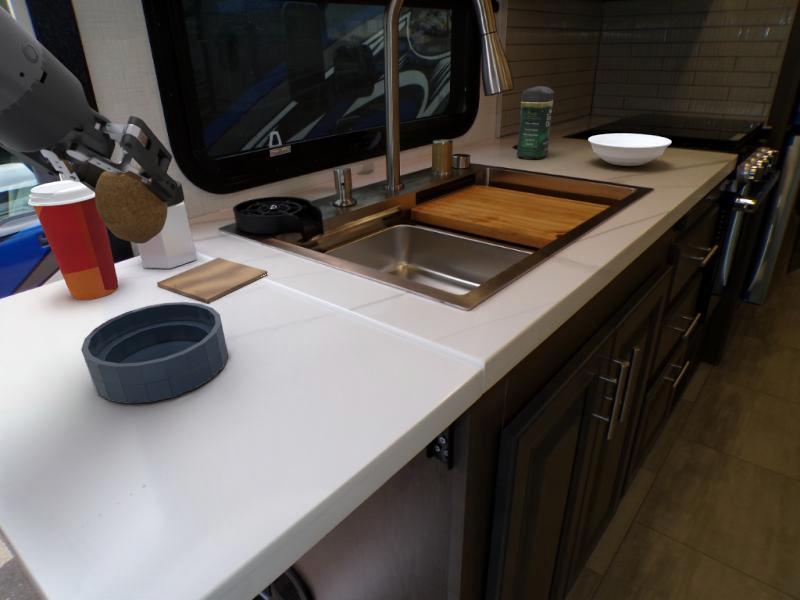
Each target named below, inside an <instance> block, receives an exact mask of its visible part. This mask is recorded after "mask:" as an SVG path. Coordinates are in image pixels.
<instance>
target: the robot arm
mask: <svg viewBox="0 0 800 600" xmlns="http://www.w3.org/2000/svg"><path fill="white" fill-rule="evenodd" d="M116 143H117V144H118V145H119V148H120V149H119V152H118V154H117V157H116V160H115V161H113V160H111V159H112V157H113V154H114V151H115V148H116ZM0 147H1V148H2V149H4V150H5V151H7V152H9V153H10V154H12V155H14V156H15V157H17V158H18V159H20V160H21V161H23V162H26V164H28V165H30V166H32V167H34V168H35V169H37V170H39V171H40V172H42V173H44V174H45V175H46V176H48V177H51V178H55V179H56V178H59V176H60V175H64V177H65V178H66V180H71V181H75V182H81V183H82V184H83V185H85V186H86V187H88V188H89V189H90V190H92V191H93V192H95V188H96V184H97V181H98V179H99V177H100V175H101V174H102V173H103V172H105V171H108V172H110V173H112V174H114V175H116V176H120V175H122V174H125V175H127V176H129V177H131V178H133V179H135V180H137V181H139V182H141V183H142V185H144V186H145V187H146V188H147V189H148V190H150V191H151V192H152V193H153V194H154V195H156V196H157V197H158V198H159V199H160V200H162V201H163V202H170V203H171V202H173V199H174V196H175V193H176V190H177V187H178V184H177V182H176V181H177V180H176V179H174V178H172V177H171V176H170V174H168V172H169V168H170V164H171V163H172V159H173V155H172V154H171V153H170V151H169V150H168V149H167V147H166V146H165V145H164V143H162V141H160V139H159V138H158V137H157V136H156V134H155V133H154V132H153V131H152V129H151V128H150V127H149V126H148V124H147V123H146V122H145V121H144V119H142V118H141V117H138V116H135V115H130V116H129V117H128V119H127V122H126V124H124V123H116V122H115V123H114V122H112V121H111V120H110V119H109V118H107V116H105V115H103V114H101V113H100V112H97V111H96V110H95V109H94V108H92V107H91V106H90V104H89V102H88V100H87V97H86V94H85V90H84V87H83V85H82V83H81V82H80V80H79V79H78V77H76V76H75V74H73V72H71V71H70V70H69V69H68V68H67V67H66V66H65V65H64V64H63V63H62V62H60V61H59V59H58V58H57V57H56V56H55V55H53V54H52V53H51V52H50V51H49V50H48V49H47V48H46V47H45V46H44V45H43V43H41V42H40V41H39V40H37V38H35V37H34V36H33V35H32V33H30V32H29V31H28V30H27V29H26V28H25V27H24V26H23V25H22V24H21V23H20V22H19V21H17V19H15V18H14V16H12V15H11V14H10V13H9V12H8V11H7V10H6V9H5V8H4V7H3V6H2V5H0ZM40 155H42V156H43V157H44V158H46V159H47V161H45V160H43V159H41V156H40ZM132 160H134V161H135V162H136V163H137V164H138V166H139V167H141V168H140V170H138V169H136V168H134V167H135V166H133V165H132V163H131V162H132ZM175 180H176V181H175Z"/></svg>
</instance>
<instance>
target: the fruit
mask: <svg viewBox="0 0 800 600" xmlns="http://www.w3.org/2000/svg"><path fill="white" fill-rule="evenodd" d="M133 167H134V168H136V169H138V170H140V168H141V166H133ZM104 171H105V172H103V173H102V174H101V175H100V177H99V179H98V181H97V184H96V188H95V202H96V208H97V210H98V213H99V215H100V217H101V219H102V221H103V222H104V224H105V225H106V229H107V230H109V231H110V232H111V233H112V234H113V235H114V236H115V237H116V238H117V239H120V240H123V241H127V242H130V243H134V244H137V243H138V244H142V243H146V242H148V241H149V240H151V239H152V238H153V237H155V236H156V235H157V234H159V233H160V232H161V231H162V229H163V227H164V225H165V221H166V218H167V210H168V207H167V202H163V201H162V200H160V199H159V198H158V197H157V196H156V195H154V194H153V193H152V192H151V191H150V190H148V189H147V188H146V187H145V186H144V185H142V183H141V182H139V181H137V180H135V179H133V178H131V177H129V176H127V175H125V174H122V175H120V176H116V175H114V174H112V173H110V172H108V171H106V170H104Z"/></svg>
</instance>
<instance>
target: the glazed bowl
mask: <svg viewBox="0 0 800 600" xmlns="http://www.w3.org/2000/svg"><path fill="white" fill-rule="evenodd" d="M223 327H224V326H223V323H222V318H221V314H220V313H219V312H218V311H217V310H216V309H214V307H212V306H208V305H205V304H202V303H198V302H189V301H175V302H162V303H157V304H151V305H146V306H142V307H140V308H136V309H132V310H128V311H126V312H124V313H121V314H119V315H117V316H114V317H112V318H109V319H108V320H106V321H105V322H103V323H102V324H100V325H98V326H96V327H95V328H94V329H93V330H91V331H90V333H89V334H87V336H86V337H85V338H84V339H83V342H82V345H81V349H80V351H81V353H82V357H83V359H84V362H85V364H86V365H85V366H86V368H87V371H88V374H89V377H90V379H91V382H92V385H93V387H94V389H95V392H96V393H97V394H98V395H100V396H102V398H105V399H106V400H108V401H111V402H118V403H123V404H139V403H140V404H141V403H142V404H143V403H153V402H157V401H161V400H166V399H170V398H171V399H172V398H174V397H175V398H176V397H177V396H180V395H182V394H184V393H187V392H190V391H193V390H194V389H196V388H198V387H200V386H201V385H204V384H205V383H206V382H209V381H210V380H211V379H213V378H214V377H215V376H216V375H217V374H218V373H219V372H220V371H221V370H222V369H223V368H224V366H225V364H226V363H227V359H228V358H229V352H228V347H227V341H226V338H225V332H224V328H223Z"/></svg>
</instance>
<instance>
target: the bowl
mask: <svg viewBox="0 0 800 600" xmlns="http://www.w3.org/2000/svg"><path fill="white" fill-rule="evenodd" d="M587 141H588V142H589V144H590V145H591V149H592V152H593V153H595V154H596V155H597V156H598V157H599V158H600V159H601V160H603V161H604V162H606V163H608V164H611V165H615V166H623V167H636V166H642V165H645V164H647V163H649V162H652V161H653V160H655V159H657V157H660V156H662V155H663V154H664V153H665V151H666V149H667V148H668V147H669V146H670V145H671V144H672V140H671V139H669V138H667V137H662V136H659V135H652V134H643V133H604V134H597V135H592V136H590V137H588V139H587Z"/></svg>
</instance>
